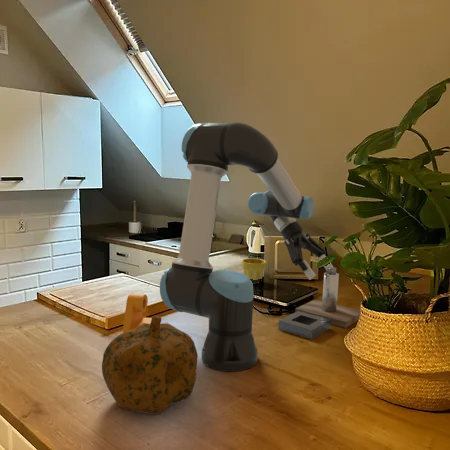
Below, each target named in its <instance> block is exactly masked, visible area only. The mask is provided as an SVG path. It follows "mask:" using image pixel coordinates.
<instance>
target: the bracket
mask: <svg viewBox="0 0 450 450" xmlns="http://www.w3.org/2000/svg"><path fill="white" fill-rule="evenodd" d="M148 301H149V300H148V296H147V294H144V293H142V294H141V293H134V292H133V293H131V292H130V293H128V295H127V298H126V304H125V310H124V317H123V318H124V319H123V327H122V334H123V333H126V332H129V331H132V330H134V329H135V328H137V327H139V326H140V325H143V324H151V320H152V317H144V314H143V313H145V312H146V310H147V308H148Z"/></svg>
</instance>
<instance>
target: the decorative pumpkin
mask: <svg viewBox="0 0 450 450" xmlns="http://www.w3.org/2000/svg"><path fill="white" fill-rule="evenodd" d="M151 318H152V320H151V324H143V325H140V326H139V327H137V328H135V329H134V330H132V331H129V332H126V333H123V332H122V333H121V334H119V335H117V336H115V337H114V338H113V339H112V341H111V342H110V343H109V344H108V345H107V346H106V348H105V350H104V352H103V354H102V355H103V356H102V360H101V361H102V362H101V372H102V377H103V380H104V382H105V384H106V388H107V389H108V391H109V393H110V394H111V396H112V397H113V399H114V400H115V401H114V402H115V403H116V404H117V406H118V407H119V408H120V409H121V410H124V411H131V412H132V411H133V412H137V413H141V414H150V415H159V414H160V413H162V412H163V411H164V410H165V409H166V408H167V407H169V406H170V405H171V404H177V403H179V402H180V403H181V402H183V401H186V399H188V398H189V397H190V396H191V394H192V393H193V390H194V387H195V384H196V379H197V367H198V352H197V348H196V345H195V342H194V340H193V338H192V336H190V335H189V334H188V333H186V332H184V331H182V330H181V329H178V328H177V327H175V326H174V325H172V324H170V323H168V322H166V323H163V322H162V317H161V316H159V315H153V316H151Z"/></svg>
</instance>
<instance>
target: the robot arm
mask: <svg viewBox="0 0 450 450" xmlns="http://www.w3.org/2000/svg"><path fill="white" fill-rule="evenodd" d="M181 152H182V157H183V160H185V162H186V163H187V165H186V167H187V169H188V170H189V172H190V174H191V175H190V181H189V188H188V195H187V199H186V200H187V201H186V207H185V213H184V214H185V215H184V220H183V225H182V232H181V239H180V244H179V251H178V256H177V257H176V258H175V259H174V260H172V262H171V267H169V268H167V269H166V270H165V271H164V272H163V274H162V276H161V278H160V281H159V293H160V298H161V301H163V303H164V305H165V306H166V307H168V308H169V309H171V310H175V311H177V312H179V313H187V314H189V315H195V316H199V317H204V318H207V319H208V331H207V335H206V336H205V340H204V343H203V346H202V348H201V362H203V364H205V365H206V366H207V367H209V368H210V369H213V370H217V371H225V372H239V371H245V370H247V369H250V368H252V367H254V366H256V364H257V362H258V353H259V352H258V349H257V347H256V343H255V339H254V335H253V312H254V311H253V308H254V298H255V296H254V285H253V283H252V281H251V280H250V278H249V277H247V276H246V275H244V273H242V272H239V271H236V270H235V271H234V270H231V269H230V270H225V269H218V270H214V267H213V265H212V264H211V263H210V254H211V250H212V249H211V247H212V242H213V234H214V229H215V220H216V215H217V207H218V202H219V194H220V190H221V189H220V188H221V181H222V178H223V177H225V176H226V175H227V174H228V171H229V166H242V167H245V168H247V169H248V170H249V171H250V172H251V173H254V174H256V175H257V177H259V179H260V180H261V182H262V183H263V184H264V185H265V187H267V189H268V190H267V191H264V192H254V193H252V194H251V195H250V196H249V198H248V200H247V207H248V209H249V211H250V212H252V213H254V214H255V215H262V216H268V217H269V219H270V220H271V221H272V223H273V224H274V226H275V228H276V229H277V230H278V231H279V232H280V235H281V236H282V237H283V239H284V245H286V248H287V251H288V254H289V257H290V261H291V263H292V264H294V266H299V268H301V270H302V271H303V273H304V274H305V277H307V278H308V280H309V281H310V280H311V281H312V279H314V278H315V277H316V276H317V274H316V273H315V271H314V270H313V269H312V268H311V266H310V265H309V263H308V262H307V261H306V259H304V258H303V257H304V256H303V251H302V249H304V250H308V251H309V252H310V253H312V254H313V255H315V256H316V257H318V258H317V259H318V260H319V262H320V260H322V259H323V258H325V257H327V256H326V253H327V251H326V249H325V248H323V246H321V245H320V244H319V243H318V242H317V241H315V240H314V238H312V237H311V235H309V233H305V234H303V232H302V231H303V227H302V226H301V224H300V223H299V222H298V221H297V219H310V218H312V216H313V213H314V209H315V202H314V199H313V197H311V196H307V195H304V196H303V195H302V194H301V192H300V190H299V189H298V187H297V186H296V184H295V182H294V181H293V180H292V178H291V176H290V175H289V174H288V172H287V171H286V169H285V167H284V166H283V164H282V163H281V160H279V152H278V150H277V148H276V147H275V145H274V144H273V142H272V141H271V140H270V139H269V137H267V136H266V135H265V134H264V133H262V132H261V131H260V130H259V129H256V128H255V127H253V126H251V125H250V124H247V123H244V122H240V121H239V122H236V121H234V122H202V123H195V124H192V125H191V127H189V128H188V129H187V130H186V131H185V132H184V135H183V137H182V141H181ZM328 267H334V266H333V264H332V263H331V262H330V264H328V265H327V266H323V268H324V269H325V271H327V268H328Z"/></svg>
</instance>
